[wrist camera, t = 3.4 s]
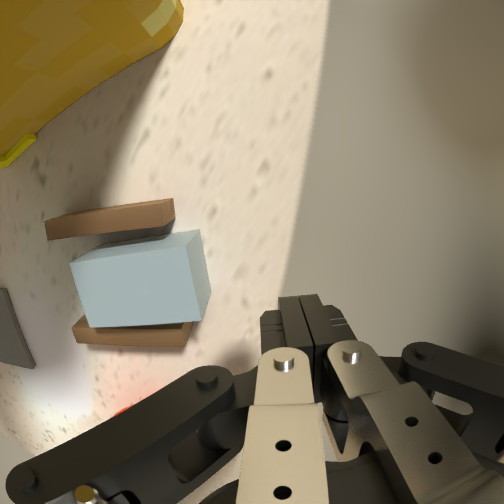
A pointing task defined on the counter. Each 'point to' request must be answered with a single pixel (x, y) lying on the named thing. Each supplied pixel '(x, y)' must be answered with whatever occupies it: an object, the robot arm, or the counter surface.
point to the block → (144, 281)
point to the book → (69, 55)
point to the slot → (114, 221)
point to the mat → (12, 336)
